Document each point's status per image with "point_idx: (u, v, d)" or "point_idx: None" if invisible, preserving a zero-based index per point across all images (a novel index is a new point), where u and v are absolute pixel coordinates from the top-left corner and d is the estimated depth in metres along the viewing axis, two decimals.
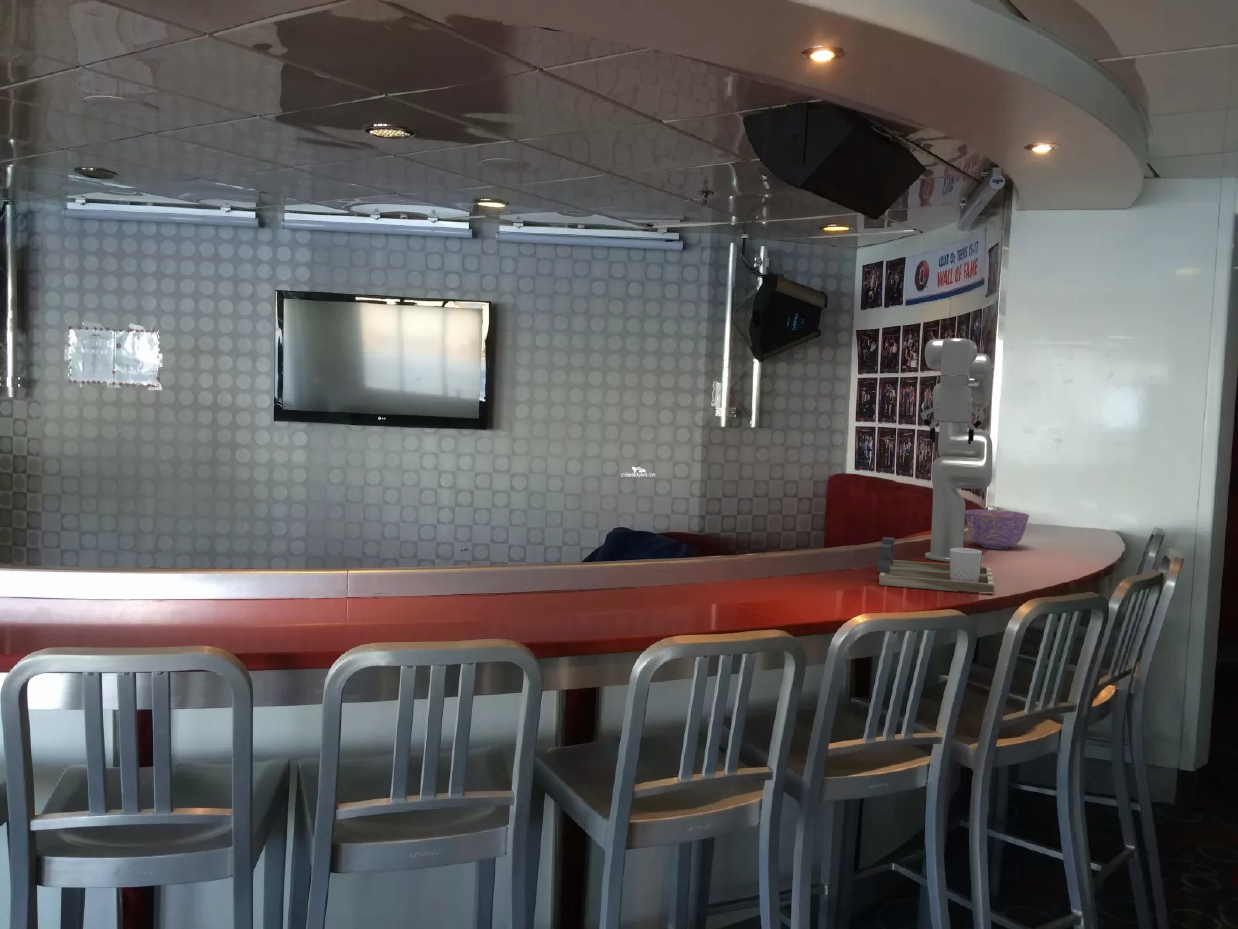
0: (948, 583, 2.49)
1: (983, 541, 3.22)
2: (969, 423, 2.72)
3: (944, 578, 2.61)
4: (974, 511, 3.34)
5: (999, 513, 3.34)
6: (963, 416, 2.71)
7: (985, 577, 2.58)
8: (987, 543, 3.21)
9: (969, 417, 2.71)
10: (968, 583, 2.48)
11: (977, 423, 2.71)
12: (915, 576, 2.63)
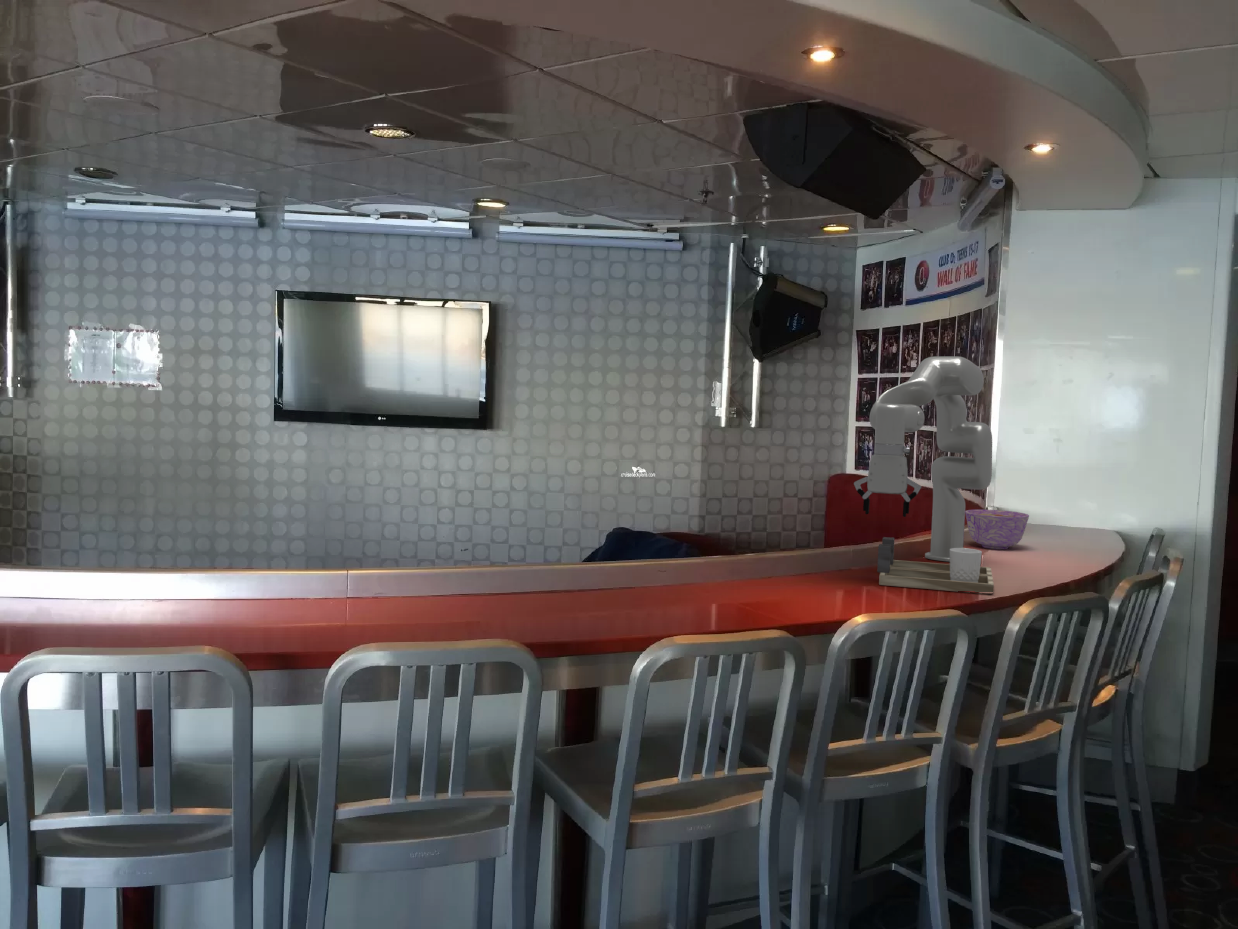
0: (948, 583, 2.49)
1: (983, 541, 3.22)
2: (904, 495, 2.56)
3: (944, 578, 2.61)
4: (974, 511, 3.34)
5: (999, 513, 3.34)
6: (897, 487, 2.56)
7: (985, 577, 2.58)
8: (987, 543, 3.21)
9: (904, 488, 2.56)
10: (968, 583, 2.48)
11: (912, 495, 2.56)
12: (915, 576, 2.63)
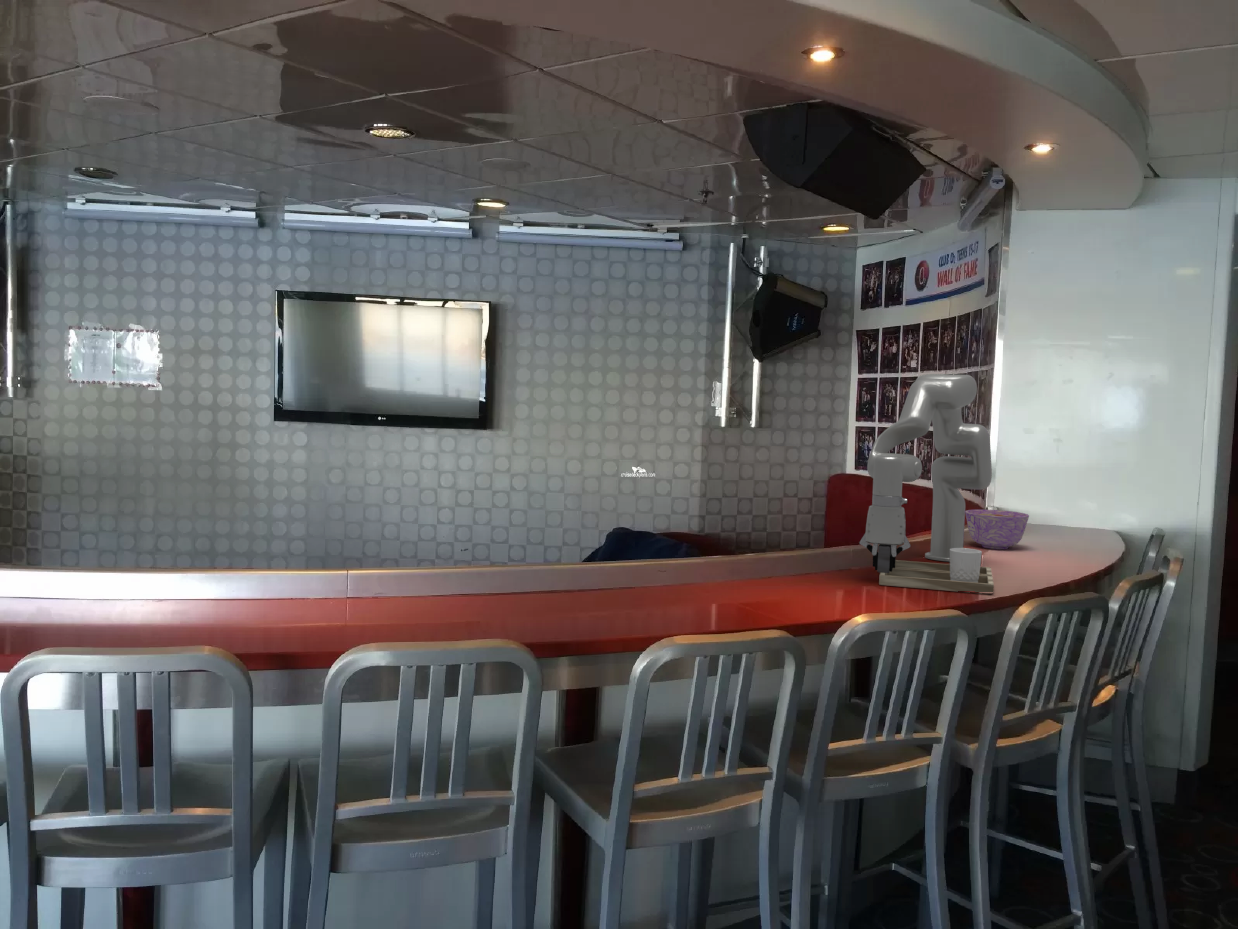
0: (948, 583, 2.49)
1: (983, 541, 3.22)
2: (893, 549, 2.58)
3: (944, 578, 2.61)
4: (974, 511, 3.34)
5: (999, 513, 3.34)
6: (895, 538, 2.57)
7: (985, 577, 2.58)
8: (987, 543, 3.21)
9: (902, 540, 2.57)
10: (968, 583, 2.48)
11: (898, 550, 2.58)
12: (915, 576, 2.63)
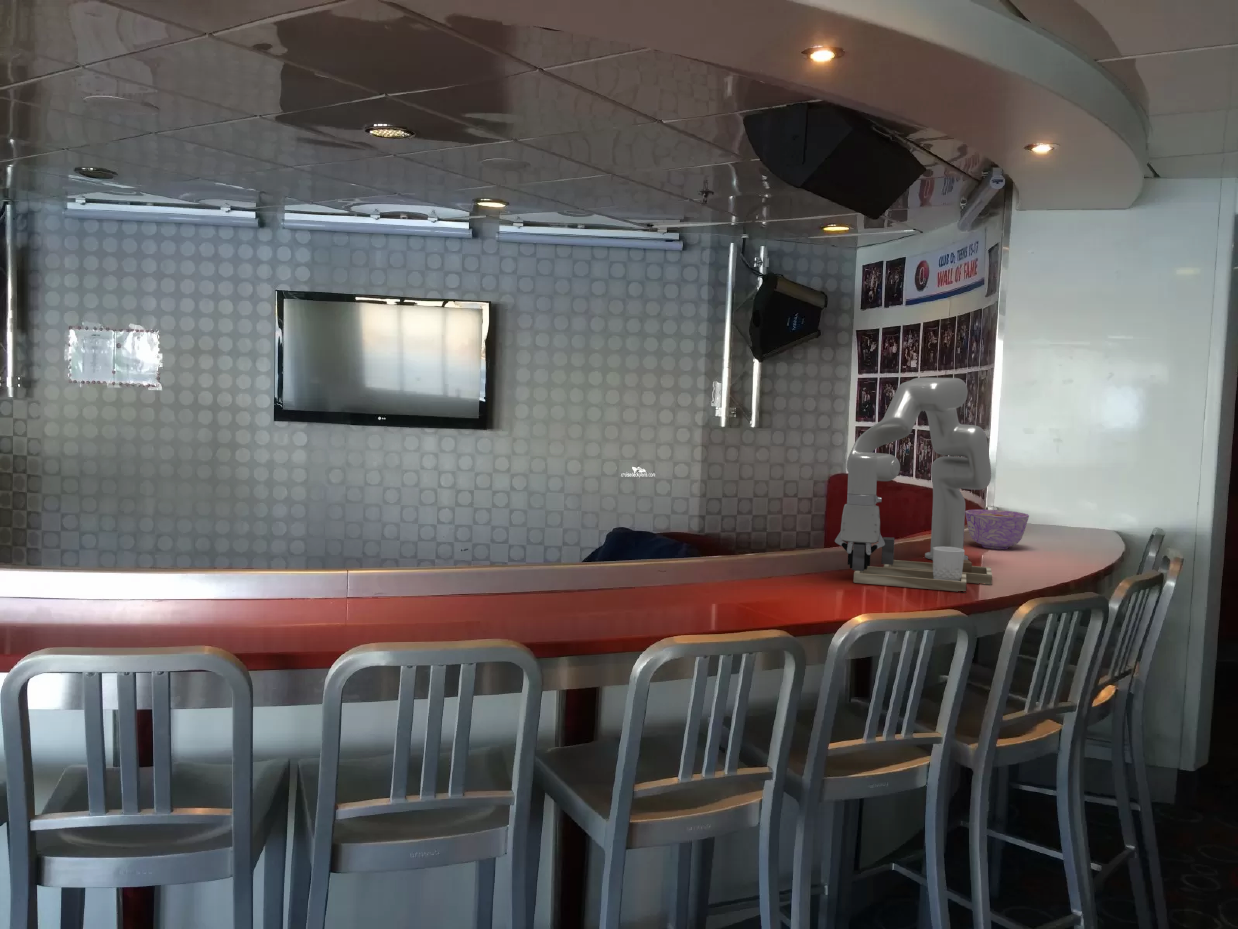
0: (921, 581, 2.51)
1: (983, 541, 3.22)
2: (868, 547, 2.60)
3: (919, 576, 2.63)
4: (974, 511, 3.34)
5: (999, 513, 3.34)
6: (870, 537, 2.59)
7: None
8: (987, 543, 3.21)
9: (876, 538, 2.59)
10: (941, 581, 2.50)
11: (873, 548, 2.61)
12: (890, 574, 2.66)
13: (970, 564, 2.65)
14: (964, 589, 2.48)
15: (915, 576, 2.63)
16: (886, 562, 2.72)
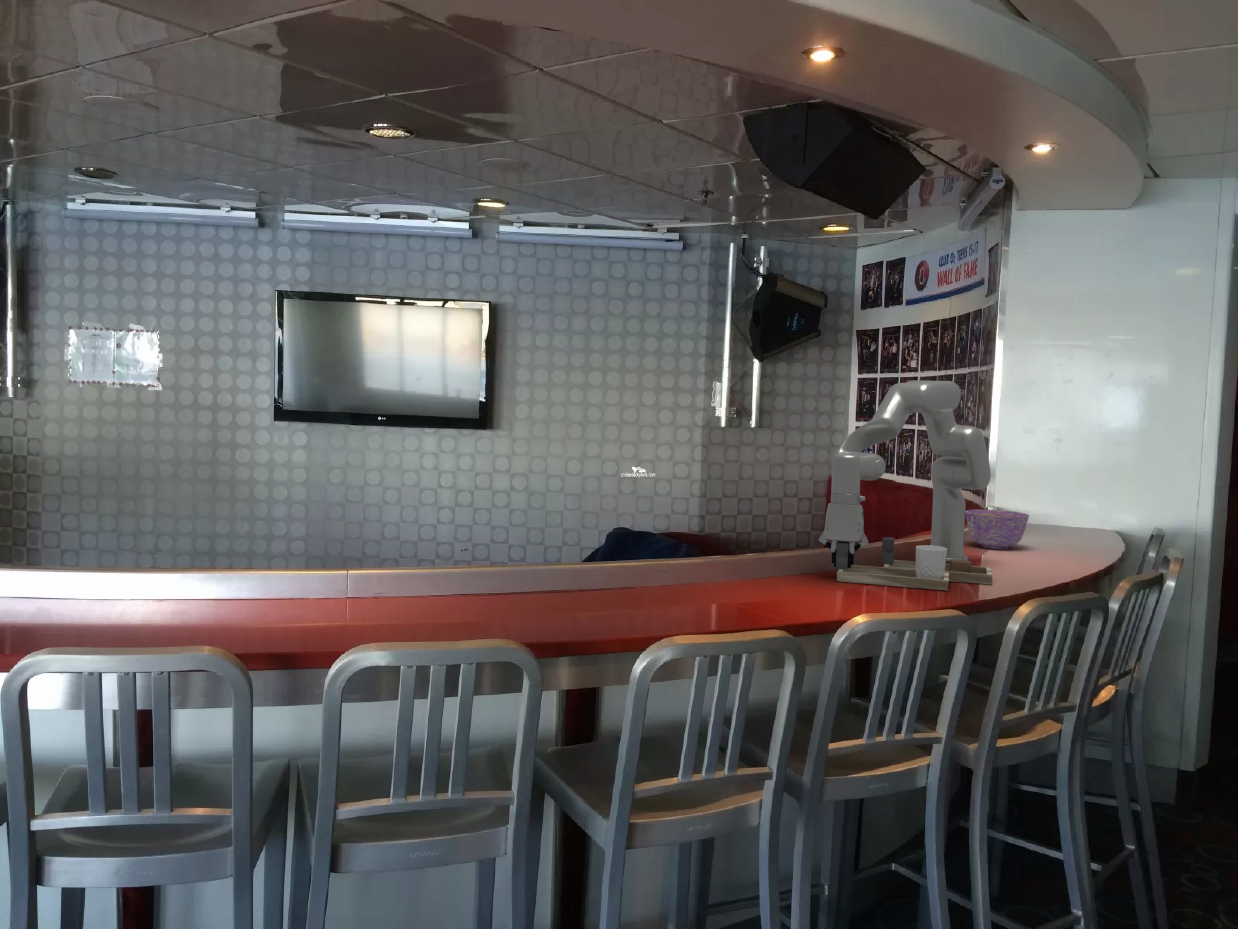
0: (904, 579, 2.53)
1: (983, 541, 3.22)
2: (851, 545, 2.62)
3: (902, 575, 2.65)
4: (974, 511, 3.34)
5: (999, 513, 3.34)
6: (853, 536, 2.61)
7: None
8: (987, 543, 3.21)
9: (859, 537, 2.60)
10: (923, 579, 2.51)
11: (856, 547, 2.62)
12: (874, 573, 2.67)
13: (970, 564, 2.65)
14: (946, 588, 2.50)
15: (898, 575, 2.65)
16: (886, 562, 2.72)
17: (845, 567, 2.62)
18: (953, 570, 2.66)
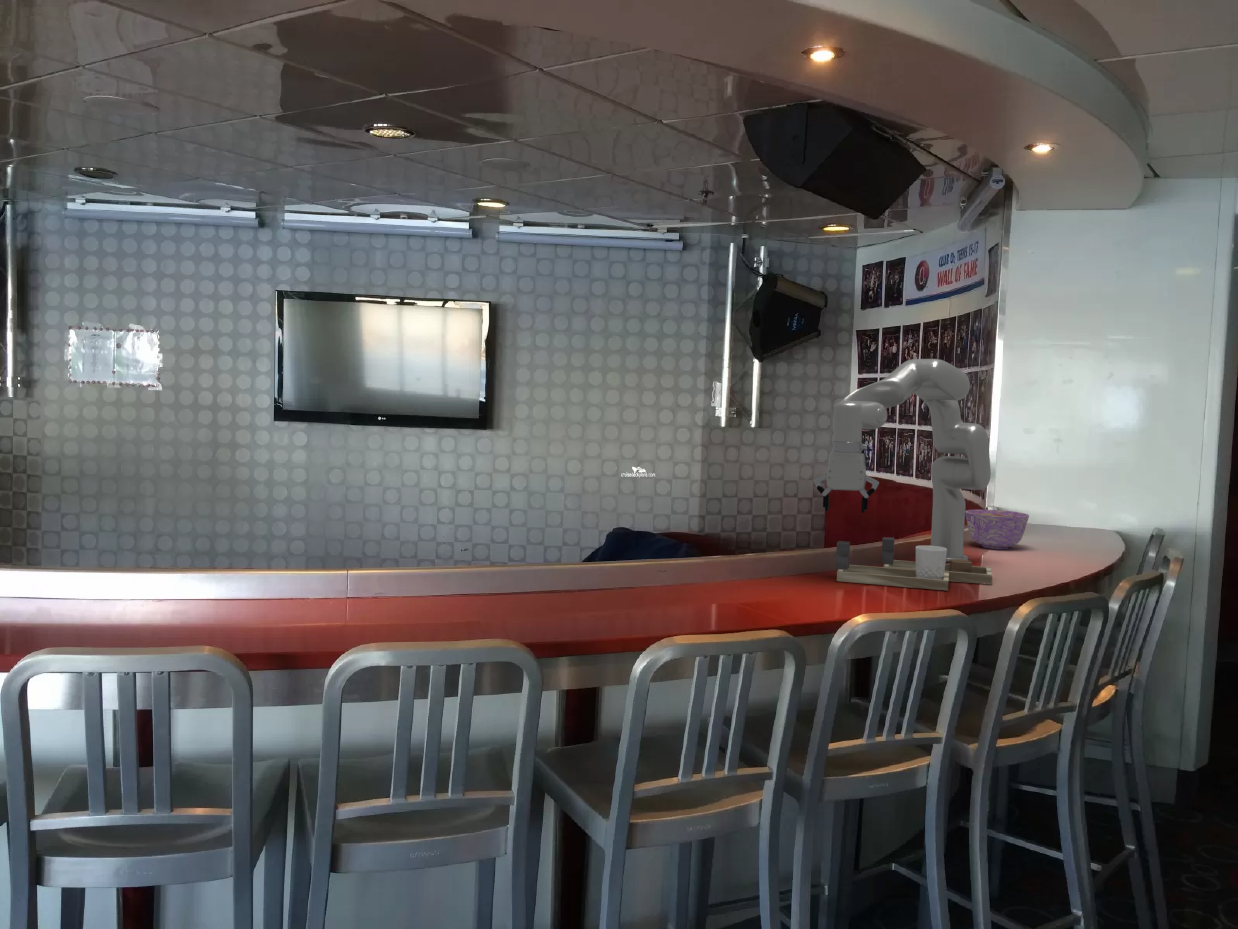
0: (904, 579, 2.53)
1: (983, 541, 3.22)
2: (862, 491, 2.60)
3: (902, 575, 2.65)
4: (974, 511, 3.34)
5: (999, 513, 3.34)
6: (856, 484, 2.60)
7: None
8: (987, 543, 3.21)
9: (862, 485, 2.60)
10: (923, 579, 2.51)
11: (870, 491, 2.60)
12: (874, 573, 2.67)
13: (970, 564, 2.65)
14: (946, 587, 2.50)
15: (898, 575, 2.65)
16: (886, 562, 2.72)
17: (845, 567, 2.62)
18: (953, 570, 2.66)
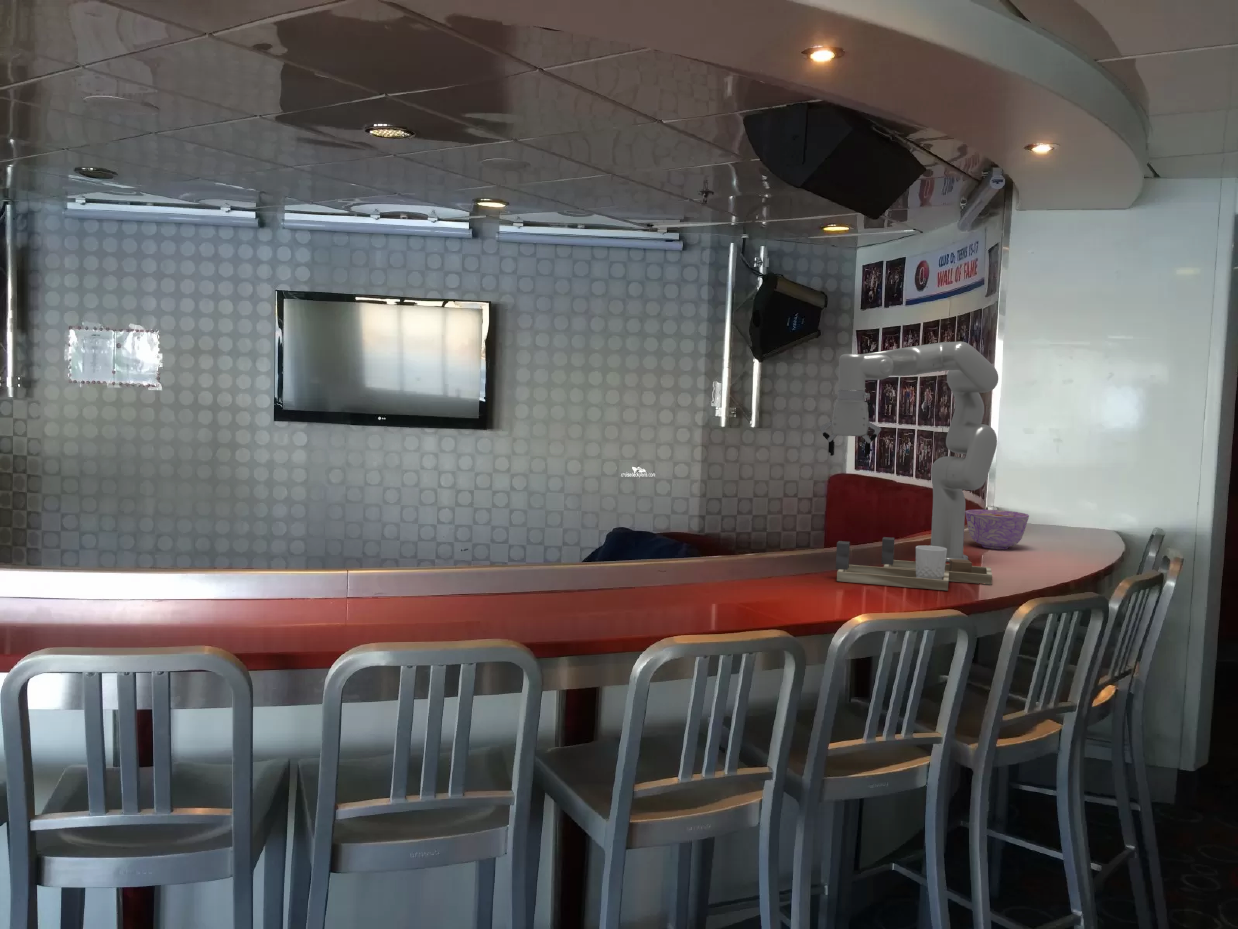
0: (904, 579, 2.53)
1: (983, 541, 3.22)
2: (865, 436, 2.79)
3: (902, 575, 2.65)
4: (974, 511, 3.34)
5: (999, 513, 3.34)
6: (859, 430, 2.79)
7: None
8: (987, 543, 3.21)
9: (865, 431, 2.78)
10: (923, 579, 2.51)
11: (873, 436, 2.79)
12: (874, 573, 2.67)
13: (970, 564, 2.65)
14: (946, 587, 2.50)
15: (898, 575, 2.65)
16: (886, 562, 2.72)
17: (845, 567, 2.62)
18: (953, 570, 2.66)
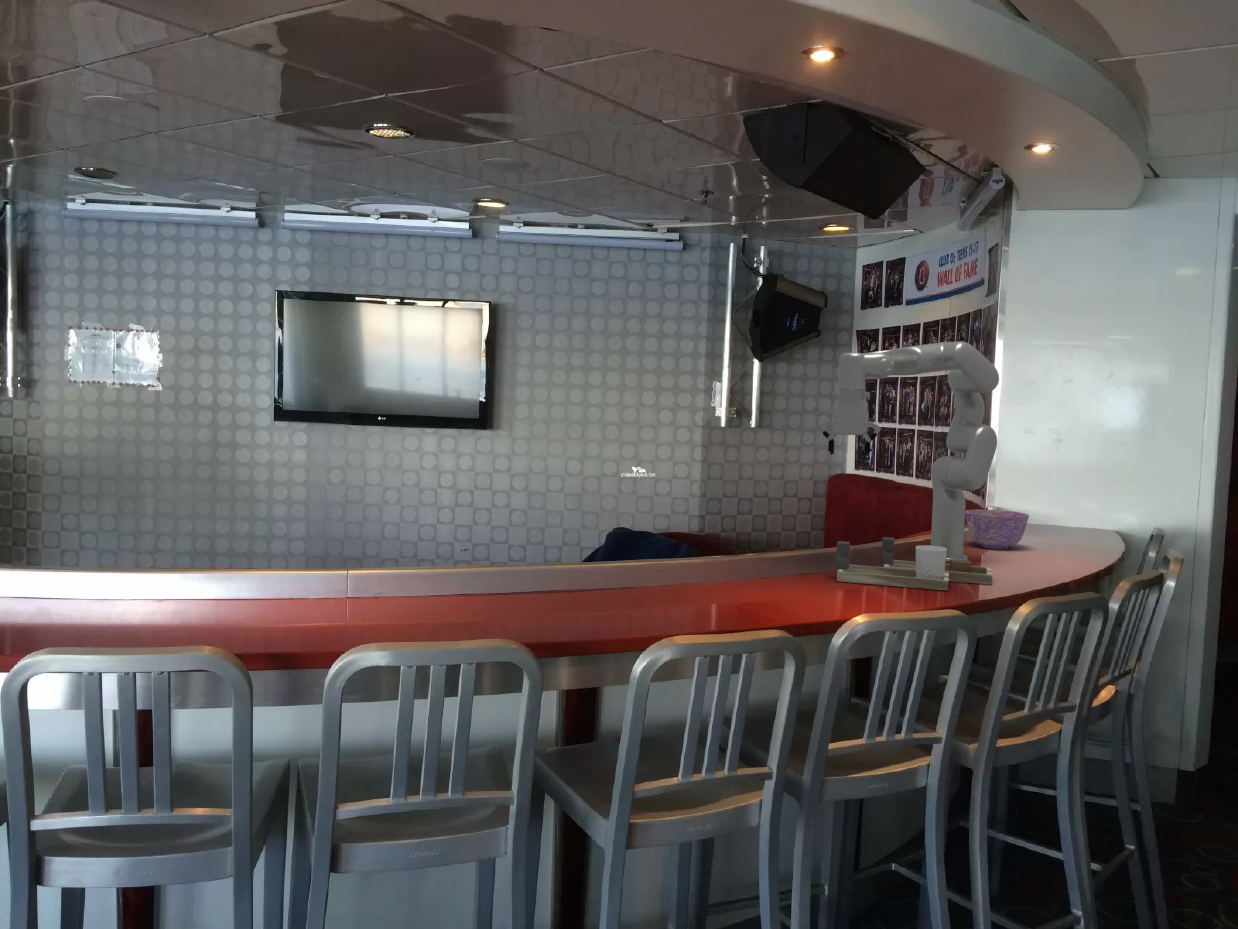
0: (904, 579, 2.53)
1: (983, 541, 3.22)
2: (865, 435, 2.79)
3: (902, 575, 2.65)
4: (974, 511, 3.34)
5: (999, 513, 3.34)
6: (859, 429, 2.79)
7: None
8: (987, 543, 3.21)
9: (865, 430, 2.79)
10: (923, 579, 2.51)
11: (873, 435, 2.79)
12: (874, 573, 2.67)
13: (970, 564, 2.65)
14: (946, 587, 2.50)
15: (898, 575, 2.65)
16: (886, 562, 2.72)
17: (845, 567, 2.62)
18: (953, 570, 2.66)
